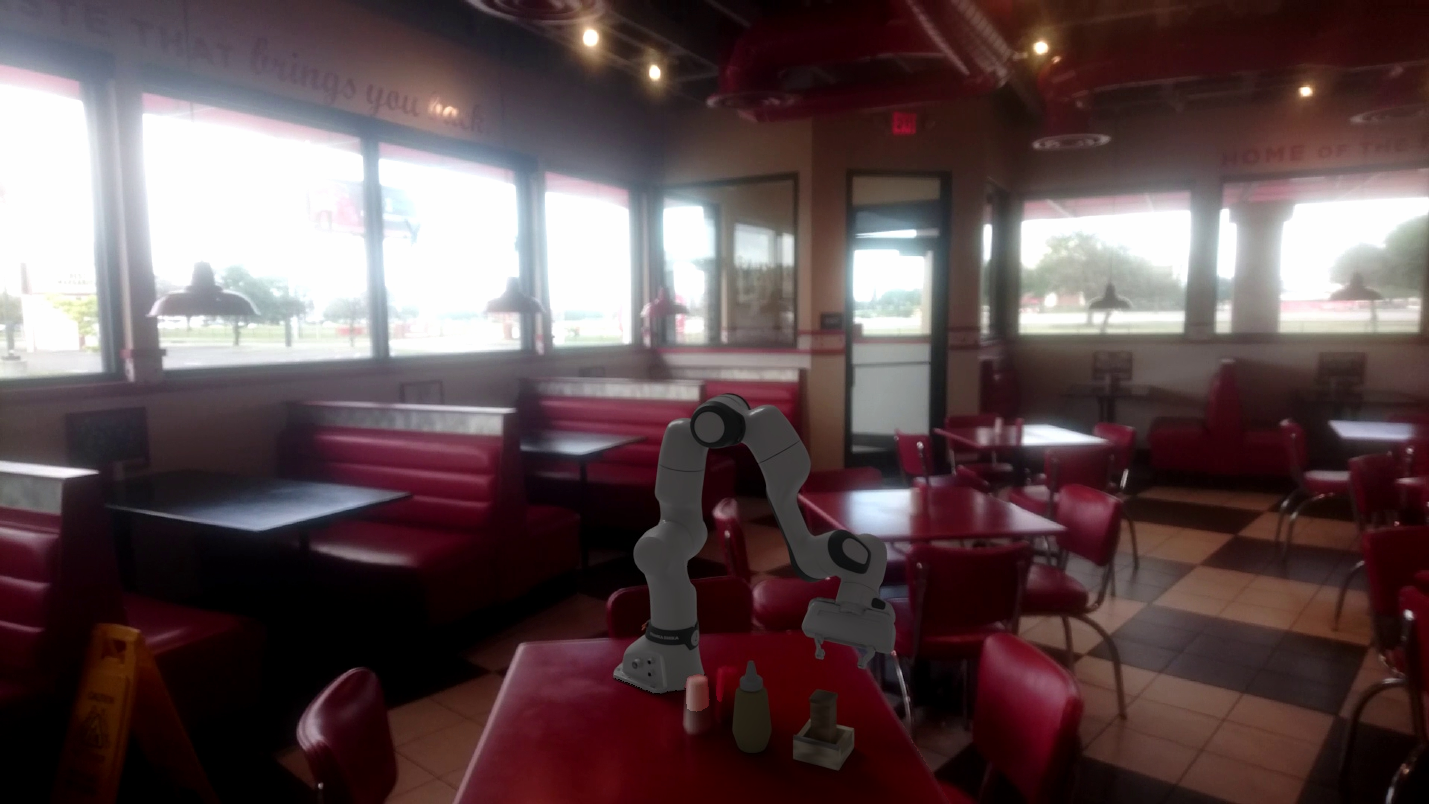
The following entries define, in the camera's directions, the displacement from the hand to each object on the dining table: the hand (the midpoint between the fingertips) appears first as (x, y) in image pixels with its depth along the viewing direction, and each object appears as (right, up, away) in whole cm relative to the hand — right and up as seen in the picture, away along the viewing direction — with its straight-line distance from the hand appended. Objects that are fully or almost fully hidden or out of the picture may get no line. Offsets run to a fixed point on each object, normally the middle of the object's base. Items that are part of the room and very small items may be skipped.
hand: (839, 662), depth 174 cm
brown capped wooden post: (-5, -15, -11) cm, 19 cm away
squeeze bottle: (-19, -15, -8) cm, 25 cm away
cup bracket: (-5, -15, -11) cm, 19 cm away
